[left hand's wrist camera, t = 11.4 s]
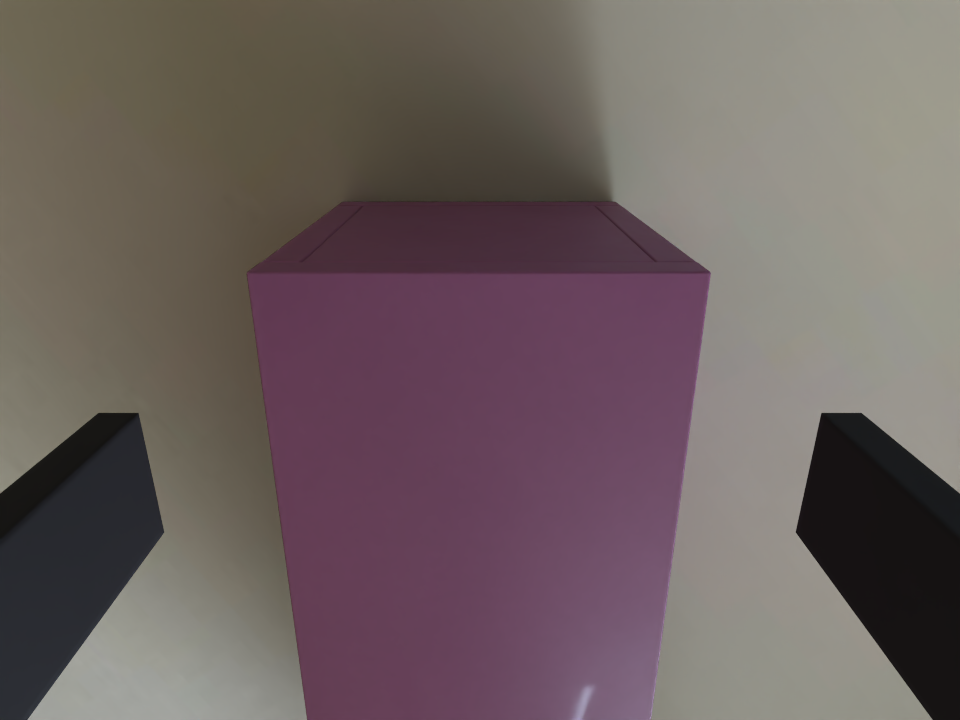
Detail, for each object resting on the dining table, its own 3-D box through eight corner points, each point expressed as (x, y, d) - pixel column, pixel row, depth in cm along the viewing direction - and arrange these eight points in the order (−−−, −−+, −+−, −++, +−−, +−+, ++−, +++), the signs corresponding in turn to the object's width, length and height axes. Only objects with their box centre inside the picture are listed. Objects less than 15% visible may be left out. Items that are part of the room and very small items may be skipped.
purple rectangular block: (586, 601, 35) (635, 835, 24) (372, 601, 35) (322, 836, 24) (616, 201, 27) (711, 271, 16) (341, 201, 27) (245, 272, 16)
